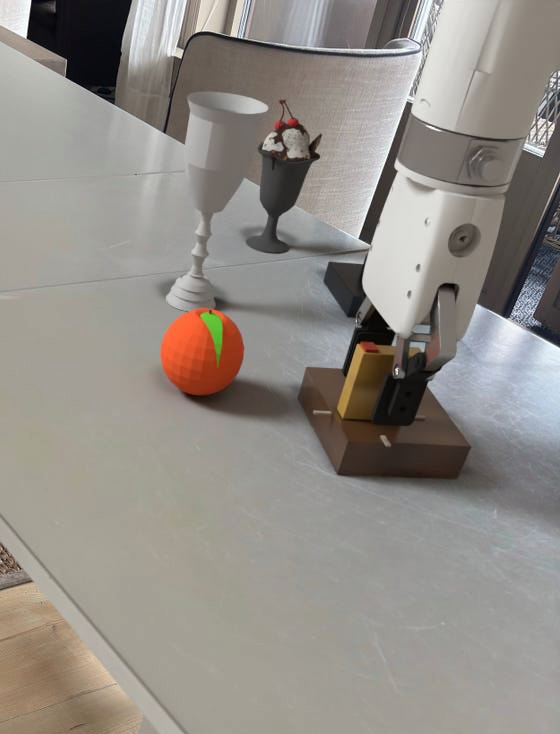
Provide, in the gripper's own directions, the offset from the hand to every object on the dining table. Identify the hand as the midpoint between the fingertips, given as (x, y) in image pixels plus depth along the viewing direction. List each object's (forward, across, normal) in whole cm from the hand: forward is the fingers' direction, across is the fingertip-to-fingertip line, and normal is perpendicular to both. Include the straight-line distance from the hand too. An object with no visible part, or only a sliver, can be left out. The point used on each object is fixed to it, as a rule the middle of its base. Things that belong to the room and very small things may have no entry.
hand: (375, 397), depth 76 cm
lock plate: (+5, +2, -2) cm, 5 cm away
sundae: (+5, +44, -3) cm, 44 cm away
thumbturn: (+2, 0, 0) cm, 2 cm away
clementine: (+5, +8, +12) cm, 15 cm away
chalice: (+5, +27, +9) cm, 29 cm away
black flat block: (+5, +30, -12) cm, 33 cm away
